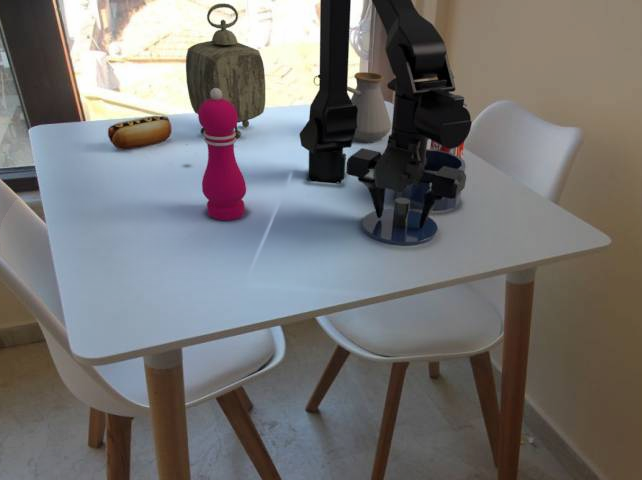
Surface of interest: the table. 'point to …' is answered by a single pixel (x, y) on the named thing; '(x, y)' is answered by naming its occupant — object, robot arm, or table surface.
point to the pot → (416, 192)
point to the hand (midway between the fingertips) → (400, 222)
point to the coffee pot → (369, 108)
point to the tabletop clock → (226, 72)
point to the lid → (399, 225)
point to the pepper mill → (221, 159)
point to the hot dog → (140, 132)
